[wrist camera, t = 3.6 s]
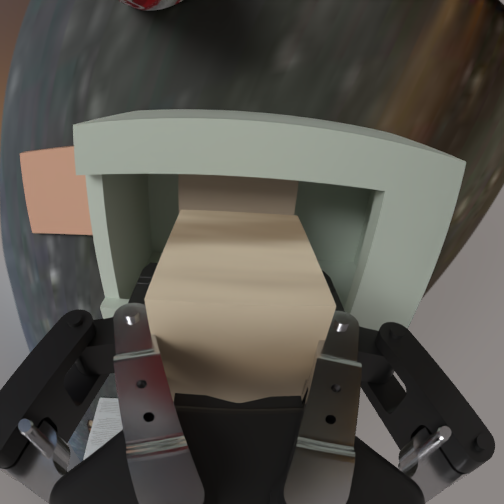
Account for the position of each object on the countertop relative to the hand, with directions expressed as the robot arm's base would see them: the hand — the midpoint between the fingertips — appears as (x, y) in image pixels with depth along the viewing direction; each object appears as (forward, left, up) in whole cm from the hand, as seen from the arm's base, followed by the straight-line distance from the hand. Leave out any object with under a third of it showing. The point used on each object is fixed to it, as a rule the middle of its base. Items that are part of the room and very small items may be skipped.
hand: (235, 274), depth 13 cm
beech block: (0, 0, -1) cm, 1 cm away
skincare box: (+33, -16, -12) cm, 39 cm away
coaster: (0, -16, -12) cm, 20 cm away
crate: (0, +2, -12) cm, 12 cm away
